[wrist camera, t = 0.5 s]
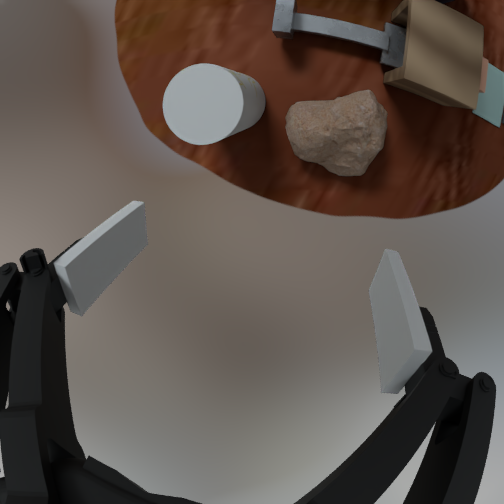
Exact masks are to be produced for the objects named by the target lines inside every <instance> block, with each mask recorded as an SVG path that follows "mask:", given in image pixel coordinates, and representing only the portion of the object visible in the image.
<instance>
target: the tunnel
mask: <svg viewBox="0 0 504 504" xmlns="http://www.w3.org/2000/svg"><path fill="white" fill-rule="evenodd" d="M391 22H394V23H397V24H400V25H403V26H406V27H407V32H406V42H405V51H404V59H403V66H402V67H399V68H396V69H393V70H391V71H388V72H386V73H385V75H384V81H383V83H385V84H388V85H391V86H394V87H397V88H400V89H403V90H405V91H408V92H411V93H414V94H416V95H419V96H421V97H424V98H427V99H429V100H431V101H434V102H436V103H439V104H441V105H443V106H451V107H459V108H466V109H473V110H476V108H477V102H478V95H479V88H480V80H481V70H482V58H483V37H484V26H482V25H481V24H479V23H477V22H476V21H474V20H472V19H471V18H469V17H467V16H465V15H463V14H461V13H460V12H458V11H456V10H454V9H452V8H450V7H448V6H446V5H444V4H441V3H439V2H437V1H435V0H403V1H402V2H401V3H400V4H399V5H398V7H397V8H396V9H395V10H394V11H393V12H392V17H391Z"/></svg>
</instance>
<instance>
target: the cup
mask: <svg viewBox="0 0 504 504" xmlns="http://www.w3.org/2000/svg"><path fill="white" fill-rule="evenodd" d="M264 109H265V95H264V92H263V89H262V88H261V86H260V85H259V83H258V82H257V81H256V80H254V79H253V78H251V77H249V76H247V75H244V74H241V73H238V72H236V71H233V70H230V69H226V68H223V67H220V66H217V65H213V64H196V65H192V66H189V67H187V68H185V69H183V70H182V71H180V72H179V73H178V74H177V75H176V76H175V77H174V78H173V79H172V80H171V82H170V83H169V85H168V87H167V89H166V91H165V94H164V99H163V112H164V117H165V120H166V122H167V124H168V126H169V128H170V129H171V130H172V131H173V133H174V134H175V135H177V136H178V137H179V138H181V139H182V140H184V141H186V142H189V143H192V144H197V145H206V144H211V143H215V142H217V141H220V140H222V139H224V138H226V137H229V136H231V135H233V134H236V133H238V132H240V131H243V130H245V129H247V128H249V127H251V126H253V125H254V124H255V123H256V122H257V121H258V120H259V119H260V118H261V116H262V114H263V112H264Z"/></svg>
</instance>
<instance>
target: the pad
mask: <svg viewBox="0 0 504 504" xmlns="http://www.w3.org/2000/svg"><path fill="white" fill-rule="evenodd" d="M503 105H504V73H503V72H502V71H500V70H499V69H497V68H496V67H494V66H493V65H491V64H489V63H488V71H487V81H486V89H485V93H479V95H478V102H477V108H476V110H473V112H472V113H474V114H476V115H478V116H480V117H482V118H483V119H485V120H487V121H489V122H491V123H492V124H494V125H496V126H497V127H499V128H500V123H501V118H502V112H503Z"/></svg>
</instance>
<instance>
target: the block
mask: <svg viewBox="0 0 504 504" xmlns="http://www.w3.org/2000/svg"><path fill="white" fill-rule="evenodd" d="M487 71H488V60H487V59H485V58H484V57H483V58H482V70H481V80H480V88H479V93H485V89H486V81H487Z"/></svg>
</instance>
